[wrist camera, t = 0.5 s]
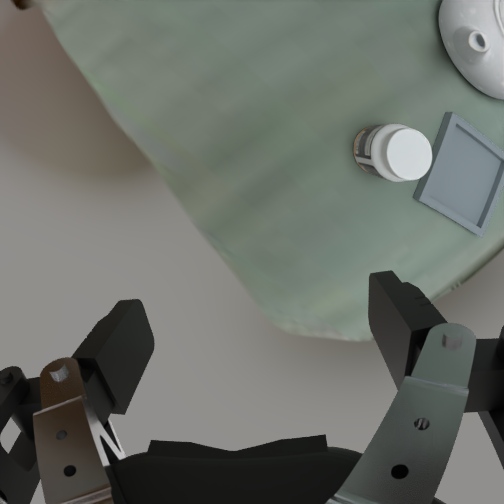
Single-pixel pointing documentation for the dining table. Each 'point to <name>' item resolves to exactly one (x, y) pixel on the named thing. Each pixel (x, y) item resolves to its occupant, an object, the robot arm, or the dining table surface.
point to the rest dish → (463, 175)
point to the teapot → (476, 41)
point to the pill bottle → (393, 152)
